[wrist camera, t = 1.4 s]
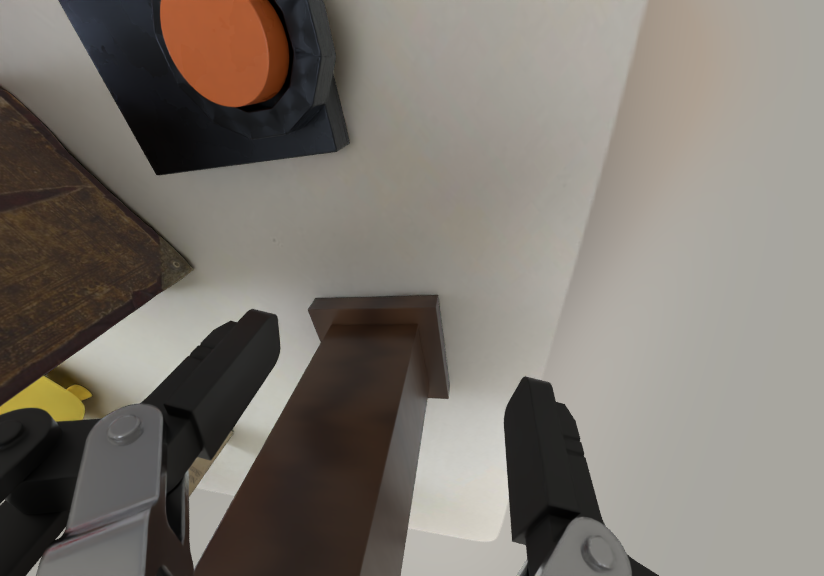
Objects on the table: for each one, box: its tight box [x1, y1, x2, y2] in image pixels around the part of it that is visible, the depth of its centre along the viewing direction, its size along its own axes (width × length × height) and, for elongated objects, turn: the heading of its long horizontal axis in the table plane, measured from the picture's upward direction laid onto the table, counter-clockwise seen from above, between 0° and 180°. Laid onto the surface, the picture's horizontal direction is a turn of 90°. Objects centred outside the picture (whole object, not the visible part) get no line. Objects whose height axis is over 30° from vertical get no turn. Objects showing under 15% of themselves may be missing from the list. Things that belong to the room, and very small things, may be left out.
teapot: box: [0, 376, 92, 421], centre depth 38 cm, size 13×20×12 cm
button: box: [160, 0, 289, 107], centre depth 14 cm, size 4×4×2 cm
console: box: [58, 0, 350, 175], centre depth 16 cm, size 13×10×4 cm
